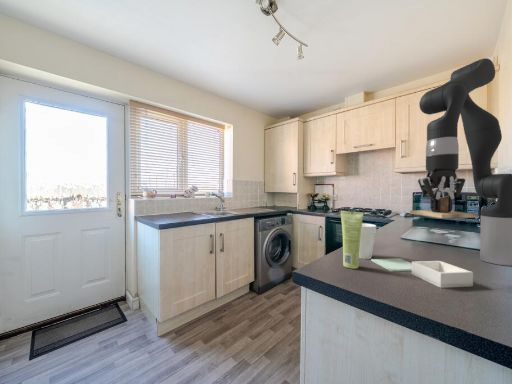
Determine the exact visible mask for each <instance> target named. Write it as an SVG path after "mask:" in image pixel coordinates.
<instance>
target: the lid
mask: <svg viewBox="0 0 512 384" xmlns="http://www.w3.org/2000/svg"><path fill="white" fill-rule="evenodd" d="M438 200H440V212H432V211H431V209H430V210H428V209H427V210H425V209H423V210H409V214H411V215H417V216H424V217H432V218H437V219H438V218H439V219H458V218H459V219H462V218H463V219H464V218H465V219H467V218H468V219H469V218H478V217H479V214H478V213H473V212H462V211H453V210H452V211H451V212H448V198H446V197H443V196H442V197H441V196H440V199H438Z"/></svg>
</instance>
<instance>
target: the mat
mask: <svg viewBox="0 0 512 384" xmlns="http://www.w3.org/2000/svg"><path fill="white" fill-rule="evenodd" d="M370 261H371V262H372V263H375V264H376V265H378V266H380V267H382V268H384V269H386V270H388V271H390V272H392V273H393V272H412V262H410V261H407V260H405V259H403V258H398V257H397V258H371V259H370Z"/></svg>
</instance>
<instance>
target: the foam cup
mask: <svg viewBox="0 0 512 384" xmlns="http://www.w3.org/2000/svg"><path fill="white" fill-rule="evenodd" d="M376 232H377V225H376V224H372V223H366V222H365V223H364V222H362V227H361V236H360V248H359V259H361V258H362V260H369V259H370V260H371V259H373V258H372V256H373V250H374V247H375V246H374V244H375V238H376Z"/></svg>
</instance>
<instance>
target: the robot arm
mask: <svg viewBox="0 0 512 384" xmlns="http://www.w3.org/2000/svg"><path fill="white" fill-rule="evenodd" d="M495 76H496V67H495V65H494V62H493V61H492V60H491V59H490V58H487V57H486V58H481V59H478V60H475V61H473V62H471V63H469V64H466V65H465V66H463V67H460V68H457V69H456V70H454V71H452V72H451V74H450V80H448V81H446V82H445V83H444V84H442V85H440V86H438V87H435V88H433V89H430V90H427V91H426V92H425V93H424V94H422V96H421V97H420V100H419V104H418V105H419V109H420V111H421V113H423V114H425V115H434V114H440V113H443V112H444V114H443V115H442V116H440V117H438V118H436V119H434V120H432V121H430V122H428V124H427V126H426V145H425V170H426V171H427V174H426V176H425V177H424V178H419V179H418V180H417V183H418V185H419V188H420V190H421V193H422V196H423V198H428V199H429V200H430V208H429V209H430V210H431V211H432V212H440V200H438V199H440V197H441V195H442V197H446V198H448V212H451V211H453V200H454V199H455V198H459V197H460V196H461V193H462V191H463V187H464V185H465V183H466V178H463V177H462V178H460V177H459V176H458V175H457V173H456V171H457V170H458V169H459V164H460V163H459V158H460V157H459V153H460V151H459V139H458V138H459V137H458V126H459V125H458V123H459V119H460V118H461V122H462V125H463V126H462V127H463V132H464V136H465V141H466V144H467V147H468V152H469V156H470V157H469V158H470V161H471V168H472V169H471V170H472V176H473V177H472V178H473V185H474V190H475V192H476V194H477V196H479V197H481V198H483V199H496V203H494V204H492V205H490V206H486V207H482V208H481V209H480V232H479V233H480V234H479V235H480V237H479V238H480V240H479V241H480V242H479V243H480V245H479V246H480V247H479V253H480V254H479V259H480V260H481V261H482V262H487V263H491V264H494V265H501V266H512V173H495V174H493V172H492V166H491V163H492V159H493V157H494V154H495V153H496V151H497V150H498V149H499V146H500V144H501V143H502V142H501V141H502V139H503V138H502V137H503V135H502V131H501V126H500V120H499V119H498V118H497V117H496V116H495V115H493V114H492V113H491V112H489V111H487V110H486V109H485V108H482V107H481V106H479V105H478V104H477V103H476V102H474V100H473V99H472V98H471V96H470V93H471V92H472V91H474V90H476V89H478V88H482V87H484V86H487V85H488V84H490V83H491V82H492V81H494V79H495ZM441 193H442V194H441Z"/></svg>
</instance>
